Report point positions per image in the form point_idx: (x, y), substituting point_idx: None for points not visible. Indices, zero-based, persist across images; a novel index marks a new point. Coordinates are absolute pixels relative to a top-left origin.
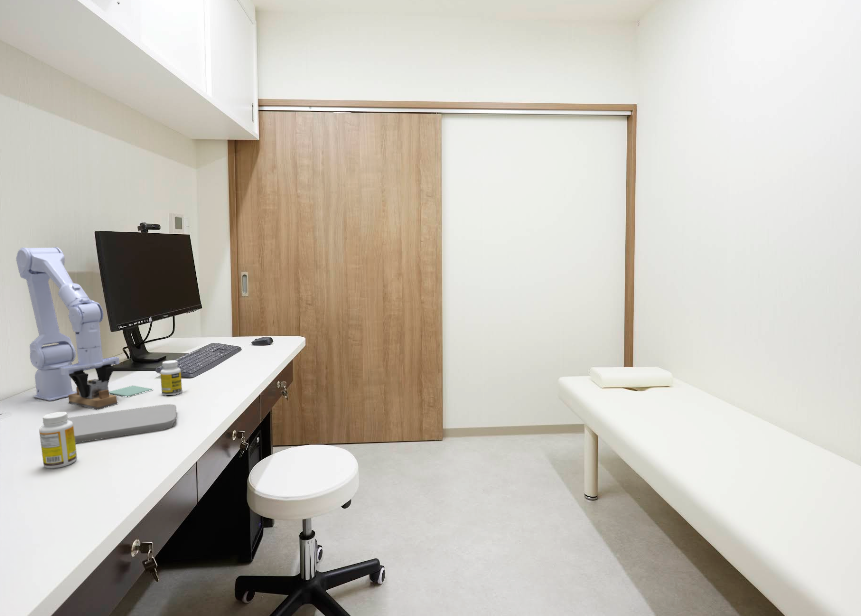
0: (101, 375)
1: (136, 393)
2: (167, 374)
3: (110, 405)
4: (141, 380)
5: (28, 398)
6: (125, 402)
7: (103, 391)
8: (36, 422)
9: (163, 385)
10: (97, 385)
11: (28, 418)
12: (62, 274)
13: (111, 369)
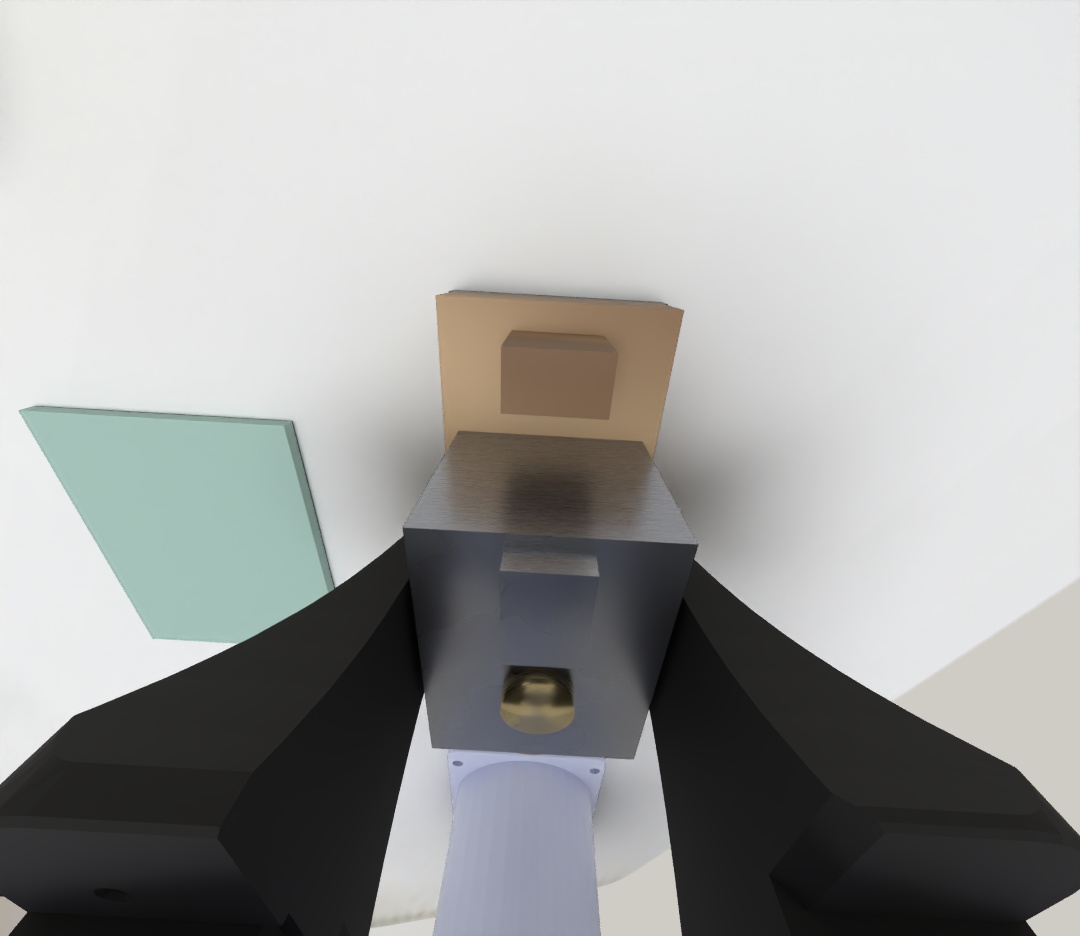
0: (385, 727)
1: (192, 420)
2: None
3: (529, 295)
4: (77, 696)
5: (599, 835)
6: (381, 266)
7: (586, 348)
8: (1042, 461)
9: None
10: (581, 517)
11: (925, 593)
12: None
13: (111, 744)
